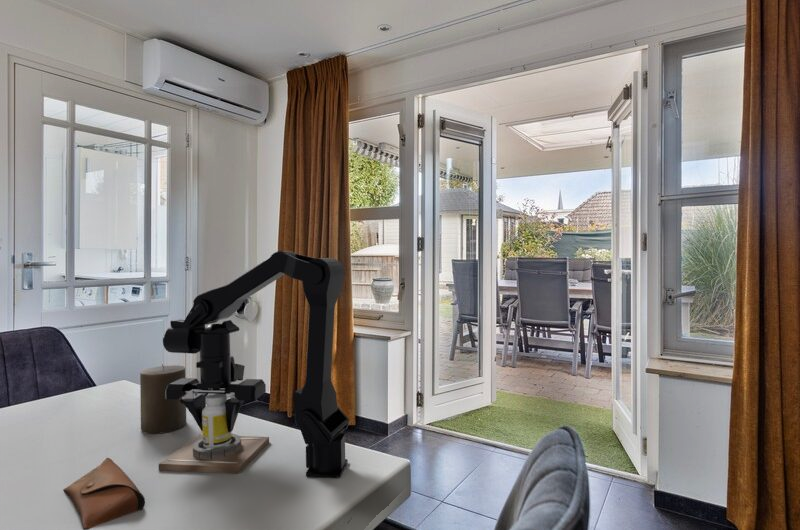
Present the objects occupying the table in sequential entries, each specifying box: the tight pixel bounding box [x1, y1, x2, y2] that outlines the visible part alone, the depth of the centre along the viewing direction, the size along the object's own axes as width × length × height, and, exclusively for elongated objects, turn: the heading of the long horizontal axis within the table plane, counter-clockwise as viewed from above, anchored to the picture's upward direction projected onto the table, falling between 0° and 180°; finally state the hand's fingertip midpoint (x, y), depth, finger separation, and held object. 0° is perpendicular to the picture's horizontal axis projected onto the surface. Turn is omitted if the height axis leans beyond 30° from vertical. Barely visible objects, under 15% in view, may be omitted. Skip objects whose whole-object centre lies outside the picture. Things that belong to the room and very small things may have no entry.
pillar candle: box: [139, 364, 187, 435], centre depth 108 cm, size 10×10×15 cm
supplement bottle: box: [201, 393, 232, 448], centre depth 92 cm, size 5×5×10 cm
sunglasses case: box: [63, 457, 146, 530], centre depth 77 cm, size 18×7×7 cm, turn 46°
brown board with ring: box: [158, 433, 270, 474], centre depth 92 cm, size 16×14×3 cm
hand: (217, 431), depth 92 cm, fingers closed on supplement bottle, 5 cm apart
